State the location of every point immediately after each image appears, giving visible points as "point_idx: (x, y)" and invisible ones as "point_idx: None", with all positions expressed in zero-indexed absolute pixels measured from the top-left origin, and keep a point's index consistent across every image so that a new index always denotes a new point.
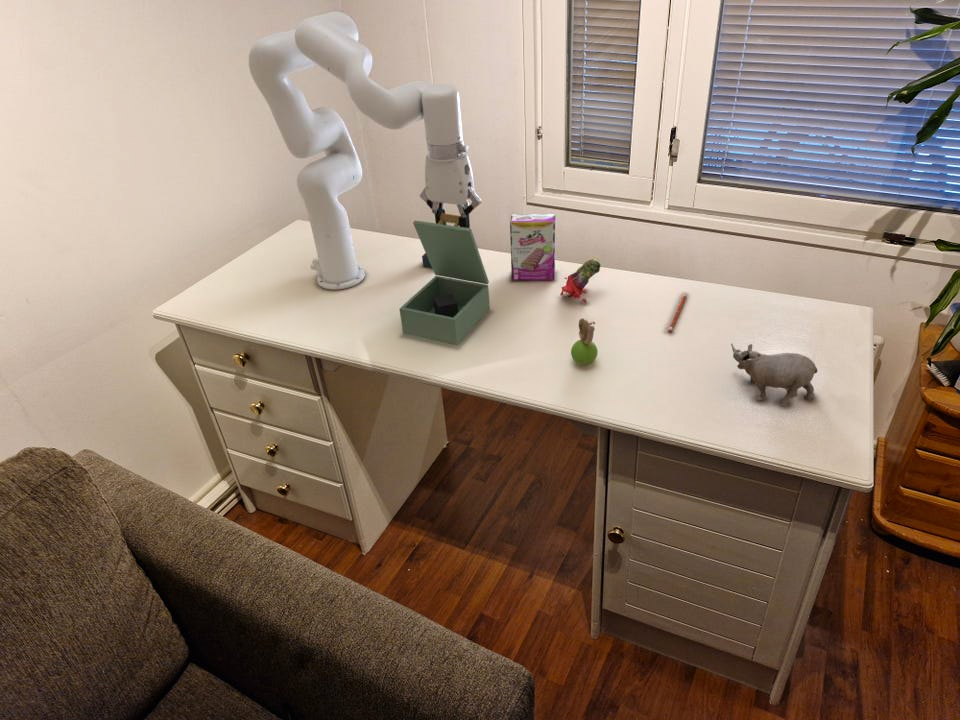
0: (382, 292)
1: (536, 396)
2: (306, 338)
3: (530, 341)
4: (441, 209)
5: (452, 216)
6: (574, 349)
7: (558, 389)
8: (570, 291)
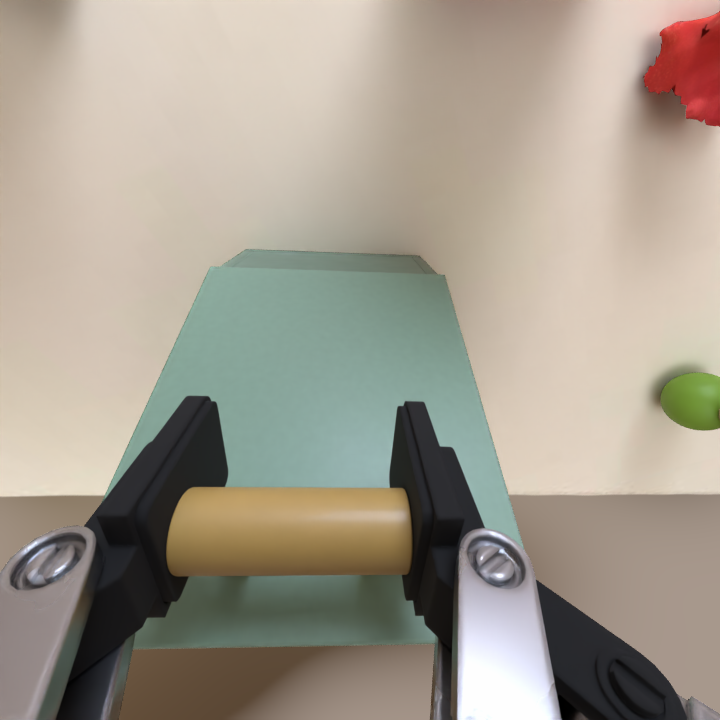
0: (38, 250)
1: (581, 485)
2: (79, 479)
3: (554, 350)
4: (130, 592)
5: (318, 574)
6: (687, 425)
7: (618, 462)
8: (717, 124)
